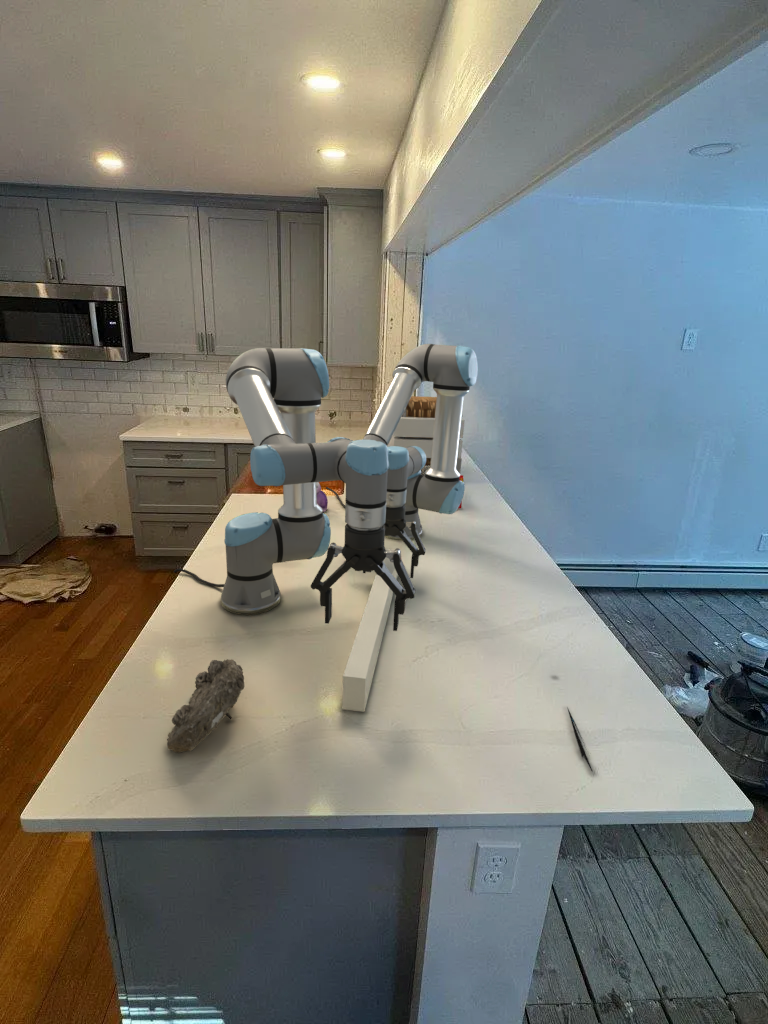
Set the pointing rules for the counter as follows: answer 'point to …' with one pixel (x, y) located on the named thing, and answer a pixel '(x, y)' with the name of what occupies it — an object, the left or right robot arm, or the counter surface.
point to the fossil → (206, 705)
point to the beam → (367, 644)
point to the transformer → (421, 428)
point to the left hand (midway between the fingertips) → (361, 623)
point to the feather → (579, 740)
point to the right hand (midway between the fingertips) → (388, 573)
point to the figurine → (321, 497)
